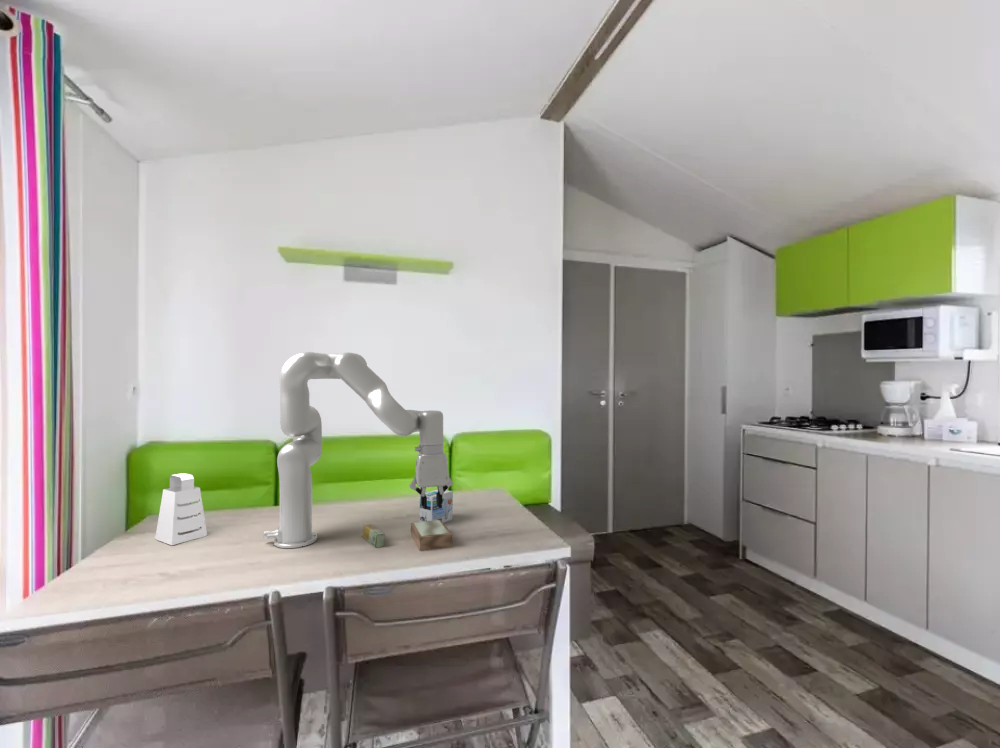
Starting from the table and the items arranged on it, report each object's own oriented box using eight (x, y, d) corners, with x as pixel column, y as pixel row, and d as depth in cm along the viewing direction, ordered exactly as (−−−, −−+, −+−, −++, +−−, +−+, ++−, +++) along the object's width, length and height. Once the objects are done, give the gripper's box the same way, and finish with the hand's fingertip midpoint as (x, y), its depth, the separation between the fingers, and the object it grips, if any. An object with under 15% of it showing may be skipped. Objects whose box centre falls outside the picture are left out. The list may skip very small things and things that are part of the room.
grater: (190, 529, 161) (190, 470, 161) (207, 535, 156) (207, 474, 156) (155, 539, 152) (155, 476, 152) (171, 545, 147) (172, 480, 147)
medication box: (383, 547, 147) (385, 534, 147) (375, 548, 145) (377, 535, 146) (369, 535, 157) (370, 523, 157) (361, 536, 155) (362, 523, 155)
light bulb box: (432, 528, 165) (432, 496, 165) (418, 524, 169) (418, 493, 169) (453, 520, 173) (453, 490, 173) (439, 517, 177) (440, 488, 177)
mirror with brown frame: (419, 551, 143) (419, 537, 143) (410, 535, 157) (410, 522, 157) (452, 547, 147) (452, 533, 147) (440, 531, 161) (440, 519, 161)
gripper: (407, 453, 146) (407, 513, 146) (460, 449, 152) (460, 507, 152) (403, 449, 153) (403, 507, 153) (453, 446, 159) (454, 501, 159)
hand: (431, 506), depth 152 cm, fingers open, 3 cm apart
